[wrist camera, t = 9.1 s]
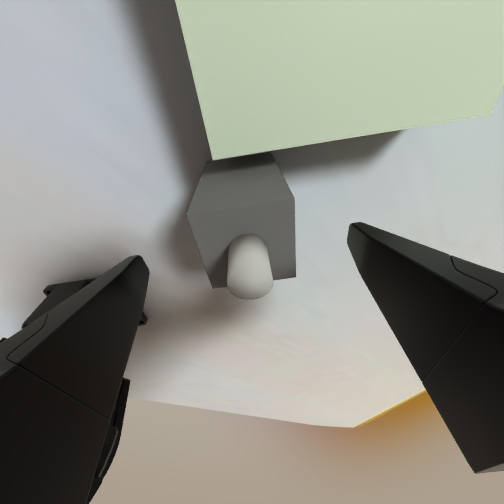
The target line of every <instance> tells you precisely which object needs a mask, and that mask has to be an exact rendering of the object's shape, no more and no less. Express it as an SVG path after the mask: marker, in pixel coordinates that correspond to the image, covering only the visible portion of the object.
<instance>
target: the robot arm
mask: <svg viewBox="0 0 504 504" xmlns="http://www.w3.org/2000/svg"><path fill="white" fill-rule="evenodd" d="M347 244H348V247H349V249H350V252H351V254H352V256H353V259H354V261H355V264H356V266H357V268H358V271H359V273H360V275H361V277H362V279H363V280H364V282H365V284H366V286H367V287H368V289H369V291H370V293H371V294H372V296H373V298H374V300H375V301H376V303H377V305H378V306H379V308H380V310H381V312H382V313H383V315H384V317H385V319H386V320H387V322H388V324H389V326H390V327H391V329H392V331H393V333H394V334H395V336H396V338H397V340H398V341H399V343H400V345H401V347H402V348H403V350H404V352H405V354H406V355H407V357H408V359H409V361H410V362H411V364H412V366H413V367H414V369H415V371H416V373H417V374H418V376H419V378H420V380H421V381H423V382H422V384H423V385H424V387H425V389H426V390H427V392H428V394H429V396H430V397H431V399H432V401H433V403H434V404H435V406H436V408H437V410H438V411H439V413H440V415H441V417H442V418H443V420H444V422H445V424H446V425H447V427H448V429H449V430H450V432H451V434H452V436H453V438H454V439H455V441H456V443H457V444H458V446H459V448H460V449H461V451H462V453H463V455H464V457H465V458H466V460H467V462H468V464H469V465H470V467H471V468H472V470H473V471H474V473H476V474H477V473H486V472H496V471H504V273H501V272H498V271H495V270H492V269H489V268H486V267H483V266H480V265H477V264H474V263H471V262H469V261H466V260H463V259H460V258H457V257H455V256H450V255H449V254H447V253H444V252H441V251H438V250H436V249H433V248H430V247H427V246H425V245H422V244H419V243H417V242H414V241H411V240H408V239H406V238H403V237H400V236H398V235H395V234H392V233H389V232H387V231H384V230H381V229H379V228H376V227H373V226H370V225H368V224H365V223H362V222H357V223H351V224H350V226H349V231H348V237H347ZM148 280H149V269H148V267H147V265H146V263H145V262H144V260H143V258H142V257H141V256H140V255H135V256H130V257H128V258H126V259H125V260H123V261H122V262H121V263H119V264H118V265H116V266H115V267H113V268H112V269H110V270H109V271H107V272H106V273H104V274H103V275H101V276H100V277H99V278H97V279H90V280H83V281H76V282H69V283H62V284H55V285H49V286H47V287H46V288H45V289H44V290H43V292H44V294H45V295H46V296H47V297H46V298H45V300H44V301H43V302H42V303H41V304H40V305H39V306H38V307H37V308H36V310H35V311H34V312H33V313H32V314H31V315H30V316H29V317H28V319H27V320H26V321H25V322H24V323H23V325H22V330H20V331H19V332H17V333H16V334H14V335H13V336H11V337H10V338H8V339H7V338H4V337H3V338H2V339H1V340H0V504H89V502H90V501H91V500H92V498H93V496H94V495H95V493H96V492H97V490H98V488H99V486H100V485H101V483H102V480H103V478H104V476H105V474H106V473H107V471H108V469H109V467H110V465H111V463H112V461H113V458H114V456H115V454H116V450H117V448H118V445H119V441H120V436H121V431H122V425H123V419H124V413H125V408H126V402H127V397H128V391H129V385H130V380H129V379H126V378H123V375H124V372H125V368H126V365H127V362H128V358H129V355H130V351H131V348H132V345H133V341H134V338H135V334H136V331H137V328H138V326H141V325H145V324H146V323H147V320H148V319H147V317H146V316H145V314H144V313H143V311H142V310H143V307H144V303H145V298H146V292H147V286H148Z"/></svg>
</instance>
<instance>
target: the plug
mask: <svg viewBox="0 0 504 504" xmlns="http://www.w3.org/2000/svg"><path fill="white" fill-rule="evenodd" d="M186 216H187V218H188V221H189V224H190V227H191V230H192V232H193V235H194V238H195V241H196V244H197V246H198V249H199V252H200V255H201V258H202V260H203V263H204V266H205V269H206V271H207V274H208V277H209V280H210V283H211V285H212V288H213V289H214V288H221V287H228V289H229V291H230V292H231V293H232V294H233V295H234V296H236V297H238V298H241V299H257V298H260V297H262V296H264V295H266V294H267V293H268V292H269V291H270V290H271V288H272V286H273V280H279V279H286V278H293V277H296V256H295V200H294V196H293V194H292V192H291V191H290V189H289V187H288V185H287V183H286V181H285V179H284V177H283V175H282V173H281V171H280V169H279V167H278V165H277V163H276V161H275V160H274V158H273V156H272V154H271V152H264V153H257V154H251V155H245V156H239V157H232V158H226V159H220V160H214V161H207V162H206V164H205V167H204V169H203V172H202V175H201V177H200V180H199V182H198V185H197V188H196V190H195V193H194V195H193V198H192V201H191V203H190V206H189V208H188V211H187V214H186Z"/></svg>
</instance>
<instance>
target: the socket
mask: <svg viewBox="0 0 504 504" xmlns="http://www.w3.org/2000/svg"><path fill="white" fill-rule="evenodd" d="M175 2H176V6H177V11H178V15H179V19H180V23H181V28H182V32H183V36H184V40H185V45H186V49H187V53H188V57H189V61H190V66H191V70H192V74H193V78H194V83H195V87H196V91H197V95H198V100H199V104H200V108H201V112H202V117H203V121H204V125H205V129H206V133H207V138H208V142H209V146H210V150H211V155H212V159H213V160H217V159H223V158H229V157H236V156H242V155H248V154H254V153H260V152H267V151H273V150H279V149H285V148H291V147H297V146H304V145H310V144H316V143H322V142H328V141H335V140H341V139H347V138H353V137H359V136H366V135H372V134H378V133H384V132H390V131H396V130H403V129H409V128H415V127H421V126H427V125H434V124H440V123H446V122H452V121H458V120H465V119H471V118H477V117H483V116H489V115H491V112H492V110H493V108H494V106H495V104H496V101H497V99H498V97H499V95H500V93H501V90H502V88H503V86H504V0H175Z"/></svg>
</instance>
